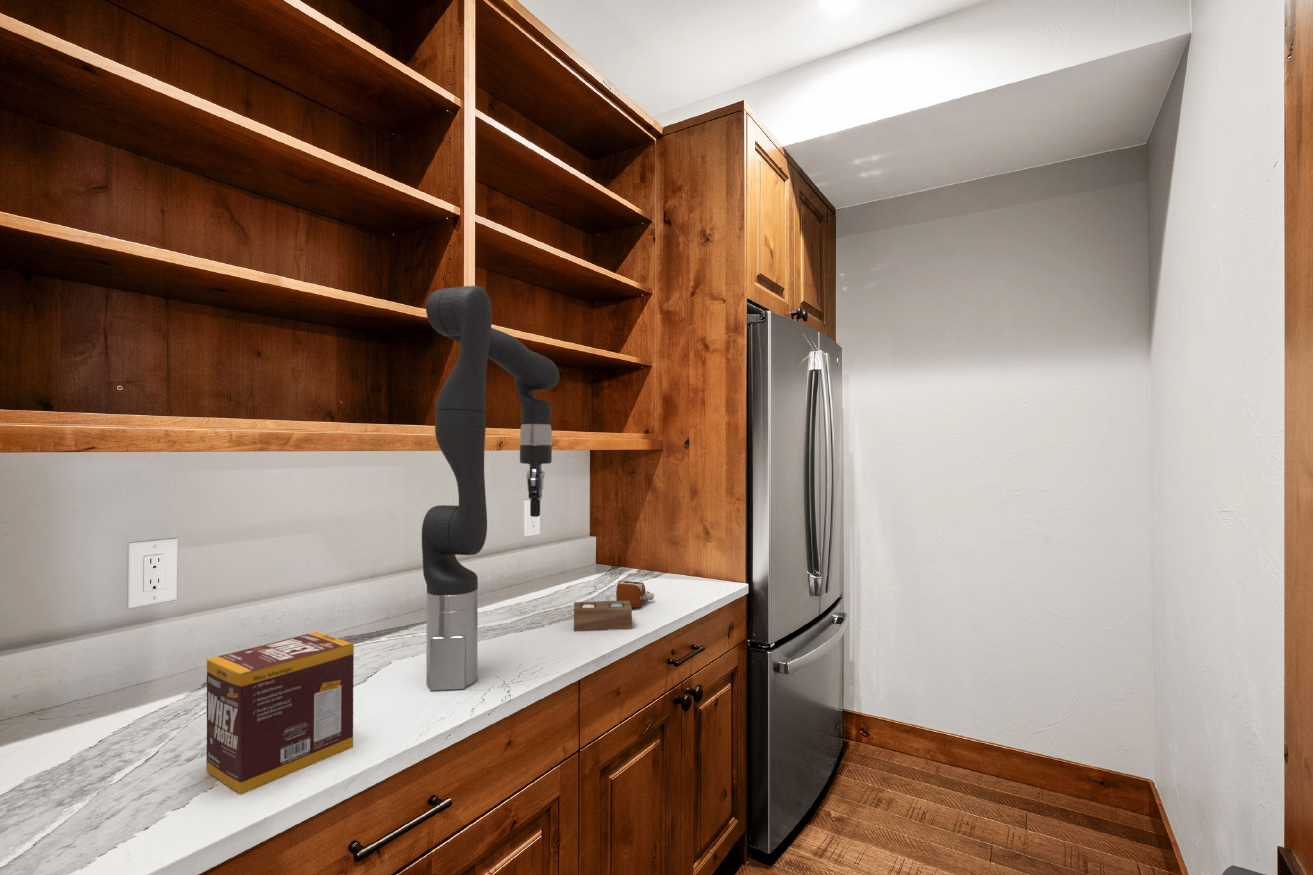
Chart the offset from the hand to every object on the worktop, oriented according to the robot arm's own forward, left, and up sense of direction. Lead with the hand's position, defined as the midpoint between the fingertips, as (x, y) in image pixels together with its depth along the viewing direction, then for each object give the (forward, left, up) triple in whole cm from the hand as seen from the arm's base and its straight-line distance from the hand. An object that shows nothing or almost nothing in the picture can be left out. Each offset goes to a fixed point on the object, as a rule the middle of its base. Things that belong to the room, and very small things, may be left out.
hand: (535, 516), depth 146 cm
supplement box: (-55, +31, -28) cm, 69 cm away
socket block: (+5, -16, -28) cm, 33 cm away
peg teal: (+5, -20, -28) cm, 35 cm away
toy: (+25, -26, -28) cm, 46 cm away
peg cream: (+5, -13, -28) cm, 31 cm away
